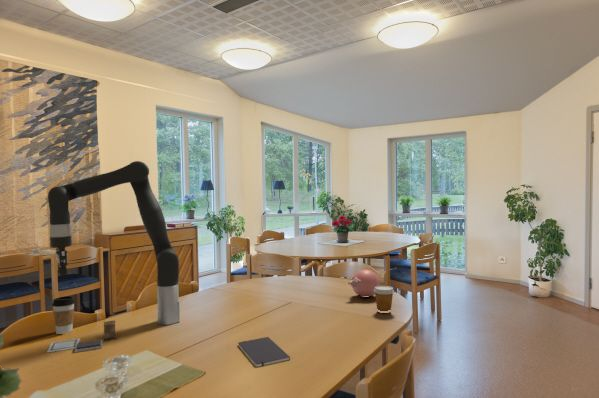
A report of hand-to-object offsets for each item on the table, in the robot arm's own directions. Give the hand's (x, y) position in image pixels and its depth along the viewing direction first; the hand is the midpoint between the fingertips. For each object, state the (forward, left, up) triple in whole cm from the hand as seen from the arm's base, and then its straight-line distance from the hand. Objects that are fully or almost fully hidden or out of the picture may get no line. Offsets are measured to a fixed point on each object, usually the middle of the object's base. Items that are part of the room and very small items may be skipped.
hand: (62, 274), depth 157 cm
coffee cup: (+1, -8, -27) cm, 28 cm away
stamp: (-17, +8, -27) cm, 33 cm away
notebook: (-69, +49, -27) cm, 89 cm away
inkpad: (-10, +15, -26) cm, 32 cm away
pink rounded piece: (-143, +5, -27) cm, 146 cm away
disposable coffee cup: (-138, +31, -27) cm, 144 cm away
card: (-1, +9, -26) cm, 28 cm away
